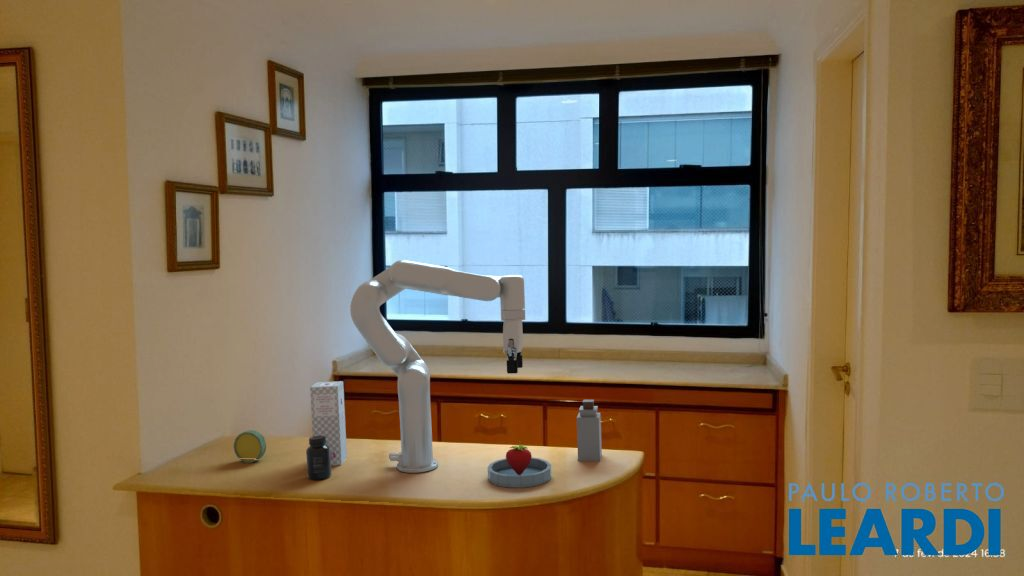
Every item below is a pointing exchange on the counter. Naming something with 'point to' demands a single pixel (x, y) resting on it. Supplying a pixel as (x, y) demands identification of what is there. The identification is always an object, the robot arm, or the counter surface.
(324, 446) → the supplement bottle
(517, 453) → the strawberry
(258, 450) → the decorative artifact
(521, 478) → the slate dish
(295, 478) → the counter surface
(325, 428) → the box
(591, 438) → the perfume bottle
